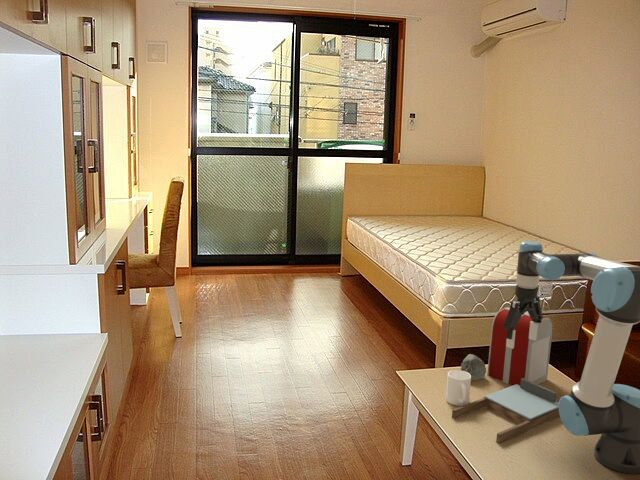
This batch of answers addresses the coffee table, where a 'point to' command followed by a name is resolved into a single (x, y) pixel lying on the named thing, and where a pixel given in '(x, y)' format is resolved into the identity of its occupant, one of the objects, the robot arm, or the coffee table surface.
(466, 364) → the stone
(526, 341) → the red striped arch block
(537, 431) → the coffee table surface
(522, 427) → the brown wooden frame
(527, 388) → the lid
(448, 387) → the mug
